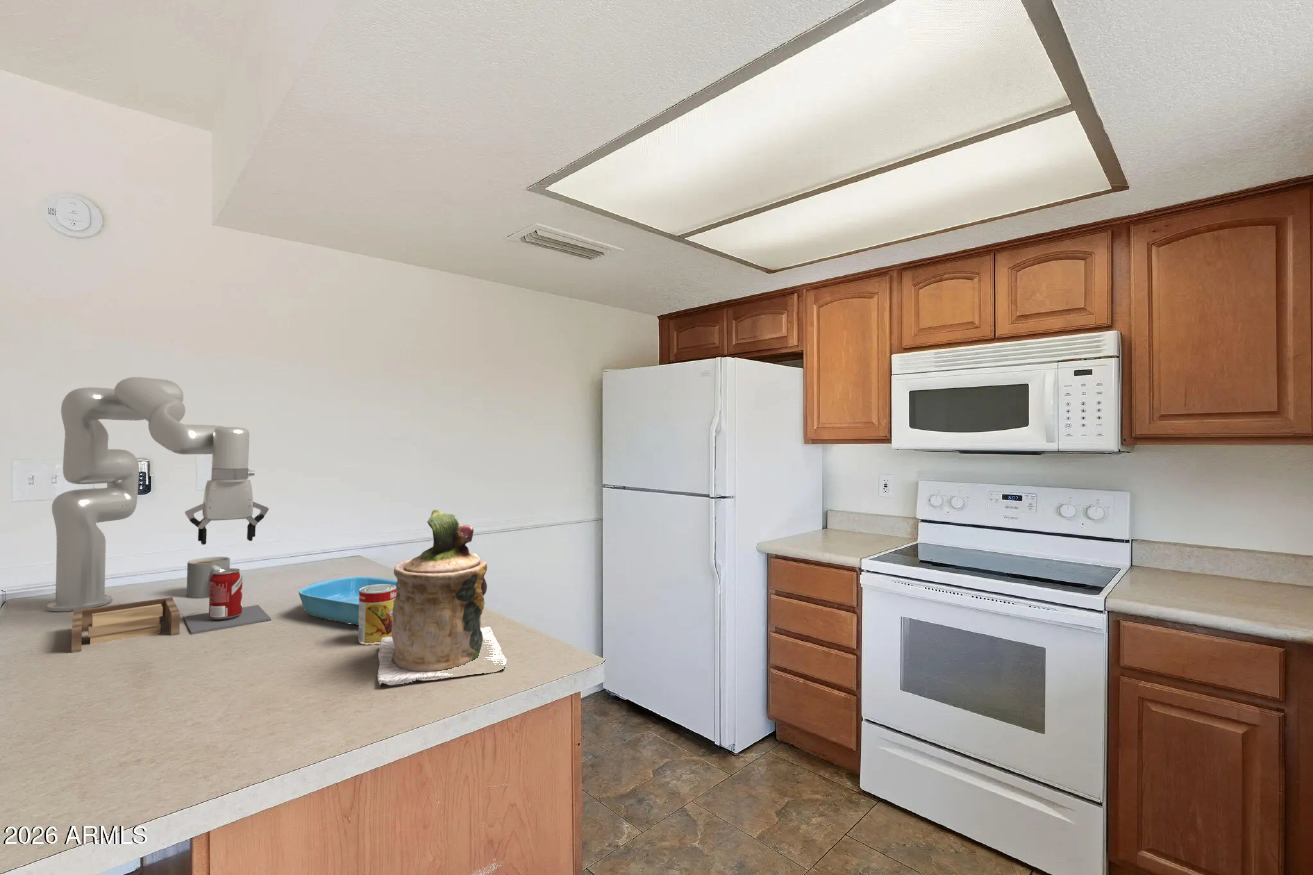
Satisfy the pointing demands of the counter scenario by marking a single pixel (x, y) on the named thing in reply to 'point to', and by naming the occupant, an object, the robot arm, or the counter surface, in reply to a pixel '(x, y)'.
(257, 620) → the rubber mat
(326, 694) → the counter surface
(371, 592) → the canned food
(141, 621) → the offcut stack
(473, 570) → the cookie jar
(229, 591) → the soda can
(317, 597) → the casserole dish
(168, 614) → the frame
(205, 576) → the coffee mug
